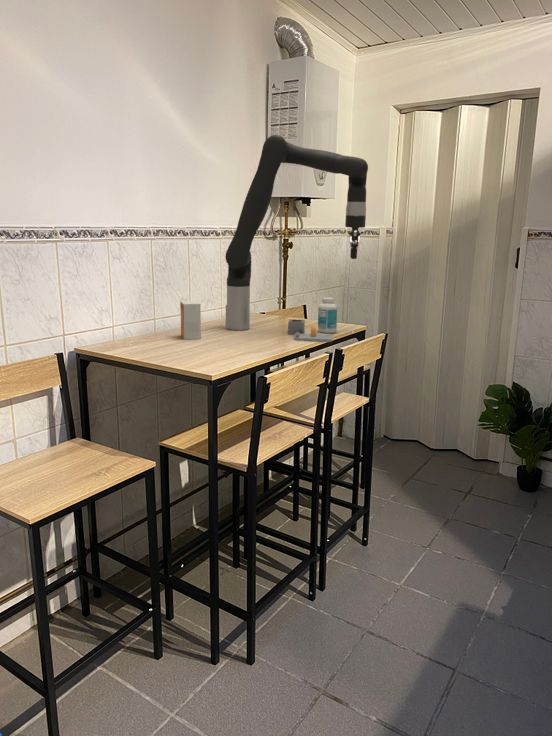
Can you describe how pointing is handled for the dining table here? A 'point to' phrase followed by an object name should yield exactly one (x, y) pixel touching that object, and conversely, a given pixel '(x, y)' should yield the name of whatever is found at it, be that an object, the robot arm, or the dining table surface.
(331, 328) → the pill bottle
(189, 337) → the small box
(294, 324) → the grey block
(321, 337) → the keeper
